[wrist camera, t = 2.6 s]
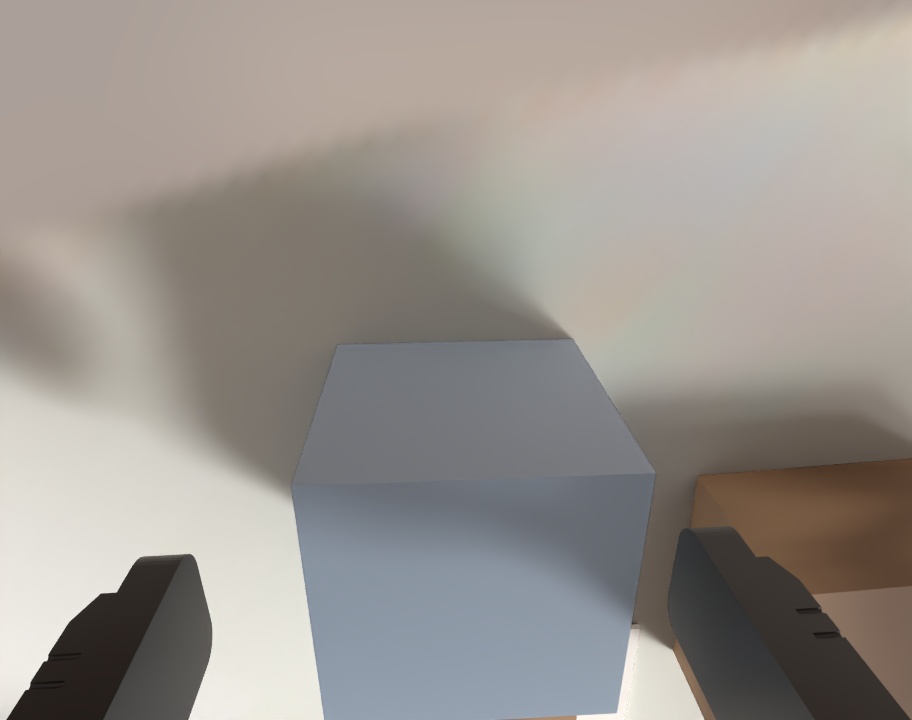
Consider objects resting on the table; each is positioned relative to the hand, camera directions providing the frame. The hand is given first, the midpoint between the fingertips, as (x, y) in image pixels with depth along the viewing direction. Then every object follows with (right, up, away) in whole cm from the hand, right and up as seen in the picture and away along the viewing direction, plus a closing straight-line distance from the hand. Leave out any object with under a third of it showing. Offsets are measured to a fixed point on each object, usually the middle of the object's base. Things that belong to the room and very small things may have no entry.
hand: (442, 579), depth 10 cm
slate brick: (0, +2, +4) cm, 4 cm away
